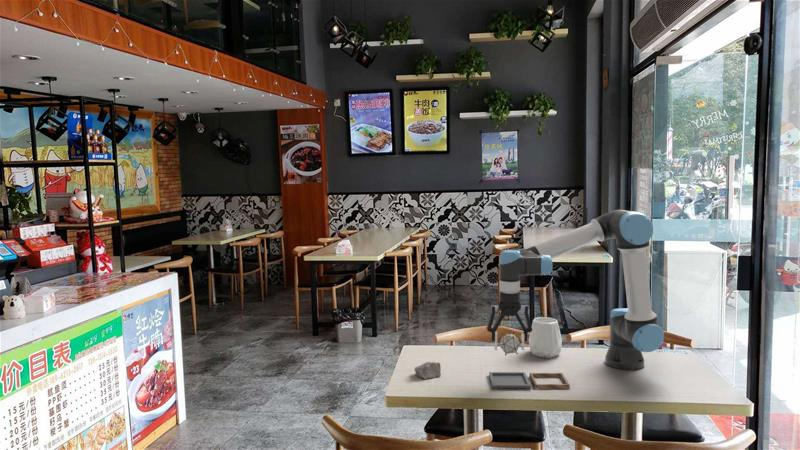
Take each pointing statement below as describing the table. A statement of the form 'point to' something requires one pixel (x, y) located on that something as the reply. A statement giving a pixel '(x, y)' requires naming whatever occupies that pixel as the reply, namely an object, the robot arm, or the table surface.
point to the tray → (509, 380)
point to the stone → (428, 370)
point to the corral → (549, 386)
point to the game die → (509, 343)
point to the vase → (545, 337)
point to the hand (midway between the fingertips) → (509, 349)
